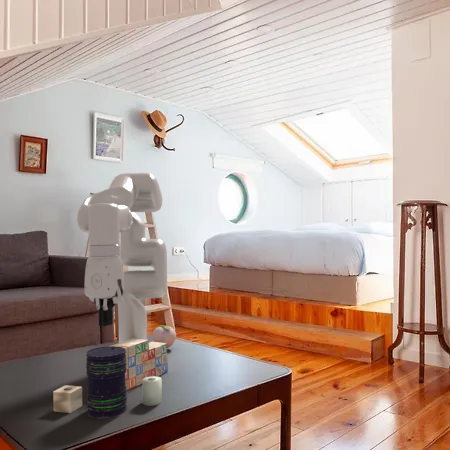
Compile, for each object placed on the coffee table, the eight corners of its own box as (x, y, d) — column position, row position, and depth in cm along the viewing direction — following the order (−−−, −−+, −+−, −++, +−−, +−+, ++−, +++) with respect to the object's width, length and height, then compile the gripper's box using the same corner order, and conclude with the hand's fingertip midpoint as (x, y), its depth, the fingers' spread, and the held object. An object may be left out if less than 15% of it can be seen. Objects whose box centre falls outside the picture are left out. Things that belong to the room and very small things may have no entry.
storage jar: (112, 420, 111) (111, 357, 111) (78, 415, 114) (77, 354, 114) (134, 405, 120) (133, 347, 120) (102, 401, 123) (101, 345, 124)
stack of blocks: (152, 369, 152) (152, 331, 152) (168, 372, 148) (167, 333, 149) (105, 389, 133) (104, 346, 133) (121, 393, 130) (120, 349, 130)
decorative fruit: (181, 349, 177) (180, 322, 177) (164, 353, 171) (163, 326, 171) (165, 345, 183) (165, 320, 183) (148, 349, 177) (148, 323, 177)
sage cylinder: (138, 403, 121) (138, 379, 121) (151, 397, 126) (151, 375, 126) (153, 407, 119) (152, 382, 119) (165, 401, 123) (165, 377, 123)
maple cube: (53, 411, 117) (53, 391, 118) (65, 404, 122) (65, 384, 122) (70, 413, 116) (70, 392, 116) (82, 406, 121) (82, 386, 121)
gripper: (72, 252, 118) (74, 325, 118) (114, 253, 110) (115, 330, 110) (95, 251, 125) (96, 320, 124) (136, 251, 117) (138, 325, 116)
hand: (105, 325), depth 117 cm, fingers closed
